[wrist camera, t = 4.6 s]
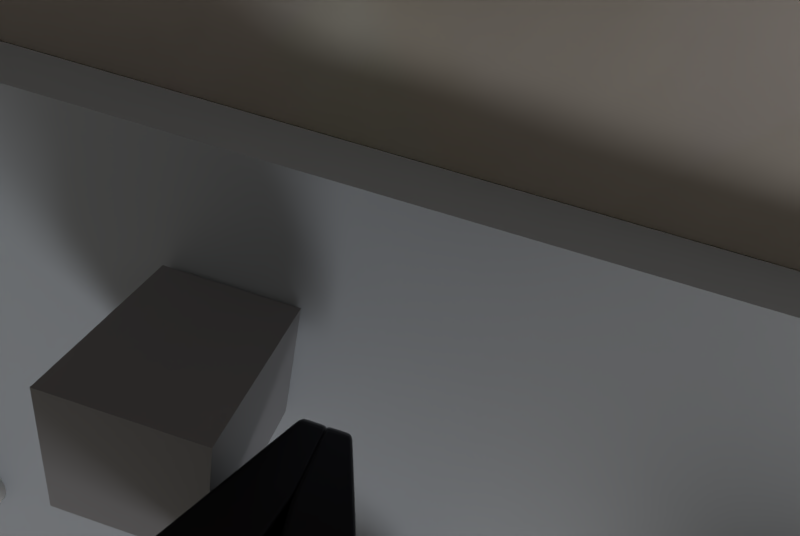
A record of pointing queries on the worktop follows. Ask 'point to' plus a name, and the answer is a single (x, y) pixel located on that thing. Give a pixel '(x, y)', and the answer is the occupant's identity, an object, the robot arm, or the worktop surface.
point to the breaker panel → (404, 318)
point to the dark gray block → (163, 400)
